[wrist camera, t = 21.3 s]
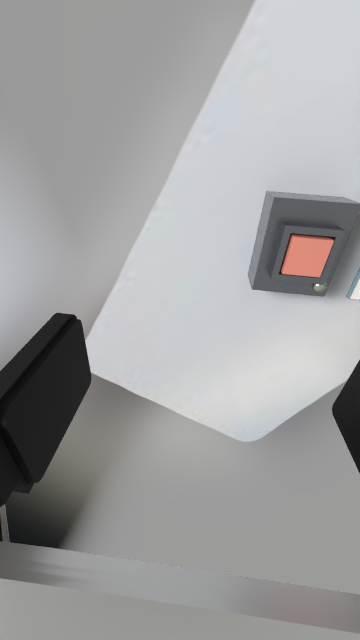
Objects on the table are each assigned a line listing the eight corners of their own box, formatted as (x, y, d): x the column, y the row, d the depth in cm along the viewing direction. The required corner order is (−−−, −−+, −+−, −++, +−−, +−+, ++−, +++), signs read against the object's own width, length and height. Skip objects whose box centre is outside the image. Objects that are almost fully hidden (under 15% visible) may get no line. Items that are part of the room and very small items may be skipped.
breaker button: (289, 232, 32) (293, 237, 30) (327, 235, 32) (334, 240, 30) (279, 267, 34) (282, 273, 33) (314, 271, 34) (319, 277, 32)
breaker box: (266, 191, 34) (277, 199, 29) (343, 197, 34) (371, 207, 28) (247, 275, 41) (254, 295, 35) (312, 281, 41) (329, 303, 35)
